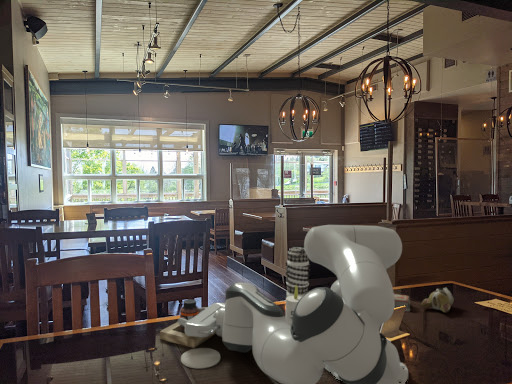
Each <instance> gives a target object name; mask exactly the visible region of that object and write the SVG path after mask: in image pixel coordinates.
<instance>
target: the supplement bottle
mask: <svg viewBox="0 0 512 384" xmlns="http://www.w3.org/2000/svg"><path fill="white" fill-rule="evenodd" d="M199 308H200V307H198V306H197V301H196V300H195V299H193V298H192V299H191V298H190V299H189V298H188V299H185V300H184V301H183V306H182V307H181V308H180V312H179V313H180V314H179V318H181V317H183V318H185V319H186V320H190V319H192V318H193V317H195V316H196V315H198V314H199ZM180 332H182V333H185V327H184V326H183V325H180Z"/></svg>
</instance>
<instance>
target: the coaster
mask: <svg viewBox="0 0 512 384" xmlns="http://www.w3.org/2000/svg"><path fill="white" fill-rule="evenodd" d="M220 360H221V354H220V352H219V351H217V350H216V349H213V348H209V347H197V348H196V347H195V348H191V349H189V350H186V351H185V352H184V353H182V355H181V356H180V362H181V363H182V364H183V366H185V367H188V368H191V369H198V370H199V369H208V368H210V367H214V366H216V365H217V364H218V363H219V362H221V361H220Z"/></svg>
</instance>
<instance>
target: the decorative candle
mask: <svg viewBox="0 0 512 384" xmlns="http://www.w3.org/2000/svg"><path fill="white" fill-rule="evenodd" d="M287 258H288V259H287V262H284V263H285V266H286V268H285V276H286V277H285V283H286V285H287V290H286V295H285V298H286V297H288V296H294V292H295V286H296V285H297V288H298V296H300V297H303V296H304V295H305V294H306V293H307V292H309V285H310V283H309V281H310V280H311V279H310V278H309V277H310V276H311V274H310V273H309V272H310V271H311V268H310V267H311V264H310V260H309V258H308V256H307V254H306V252H305V248H304V247H301V246H296V247H295V246H293V247H291V248H289V249H288V251H287Z"/></svg>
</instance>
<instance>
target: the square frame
mask: <svg viewBox="0 0 512 384" xmlns="http://www.w3.org/2000/svg"><path fill="white" fill-rule="evenodd" d="M215 334H216V331H215V333H214V334H211V335H210V336H208V337H194V336H187V335H186V334H185V333H182V332H180V325H179V324H178V321H176V322H175V323H172V324H171V325H169V326H167V327H165V328H164V329H161V330H159V340H161V341H166V342H169V343H172V344H173V343H175V344H178V345H181V346H183V347H184V346H185V347H187V348H188V347H189V348H191V349H195V348H196V347H198V346H199V345H201V344H203V343H204V342H206V341H207V340H209V339H210V338H211V337H212V336H214V335H215ZM216 335H217V334H216Z"/></svg>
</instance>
